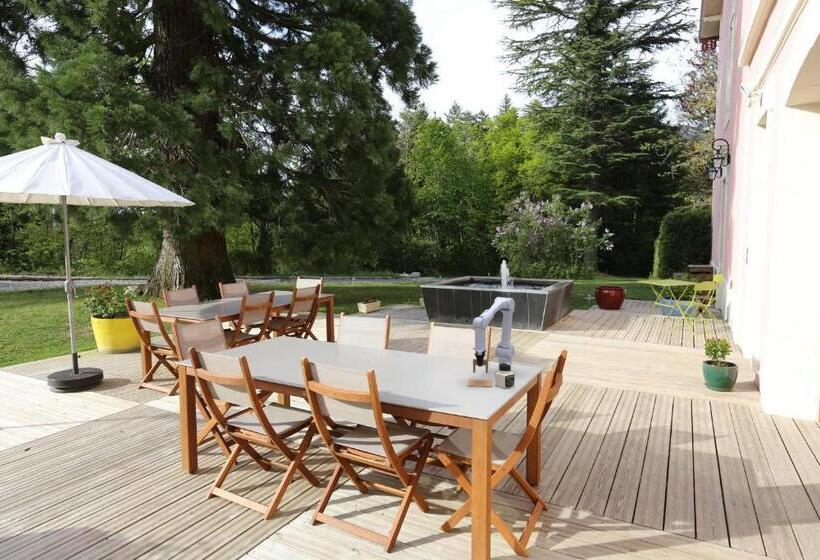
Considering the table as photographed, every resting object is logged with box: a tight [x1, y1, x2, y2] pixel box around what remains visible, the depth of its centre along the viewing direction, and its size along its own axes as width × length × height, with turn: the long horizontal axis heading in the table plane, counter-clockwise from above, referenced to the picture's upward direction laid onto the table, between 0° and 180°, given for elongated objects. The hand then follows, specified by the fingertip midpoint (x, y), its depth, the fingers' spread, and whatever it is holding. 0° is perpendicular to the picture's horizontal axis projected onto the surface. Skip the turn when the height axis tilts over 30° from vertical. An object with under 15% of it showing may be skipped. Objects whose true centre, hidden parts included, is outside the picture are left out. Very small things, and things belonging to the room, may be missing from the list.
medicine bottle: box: [495, 363, 515, 390], centre depth 277 cm, size 7×7×12 cm
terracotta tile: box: [467, 379, 494, 388], centre depth 282 cm, size 11×13×1 cm
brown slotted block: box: [472, 358, 489, 374], centre depth 281 cm, size 5×8×6 cm, turn 82°
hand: (480, 365), depth 281 cm, fingers closed on brown slotted block, 5 cm apart
